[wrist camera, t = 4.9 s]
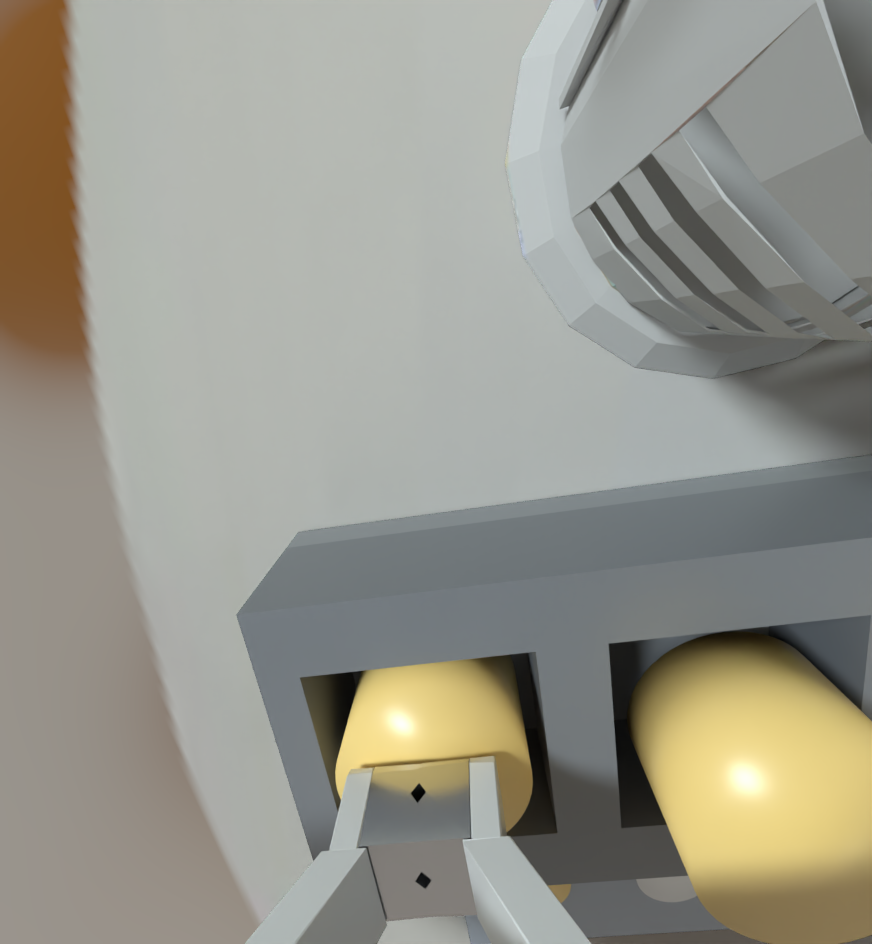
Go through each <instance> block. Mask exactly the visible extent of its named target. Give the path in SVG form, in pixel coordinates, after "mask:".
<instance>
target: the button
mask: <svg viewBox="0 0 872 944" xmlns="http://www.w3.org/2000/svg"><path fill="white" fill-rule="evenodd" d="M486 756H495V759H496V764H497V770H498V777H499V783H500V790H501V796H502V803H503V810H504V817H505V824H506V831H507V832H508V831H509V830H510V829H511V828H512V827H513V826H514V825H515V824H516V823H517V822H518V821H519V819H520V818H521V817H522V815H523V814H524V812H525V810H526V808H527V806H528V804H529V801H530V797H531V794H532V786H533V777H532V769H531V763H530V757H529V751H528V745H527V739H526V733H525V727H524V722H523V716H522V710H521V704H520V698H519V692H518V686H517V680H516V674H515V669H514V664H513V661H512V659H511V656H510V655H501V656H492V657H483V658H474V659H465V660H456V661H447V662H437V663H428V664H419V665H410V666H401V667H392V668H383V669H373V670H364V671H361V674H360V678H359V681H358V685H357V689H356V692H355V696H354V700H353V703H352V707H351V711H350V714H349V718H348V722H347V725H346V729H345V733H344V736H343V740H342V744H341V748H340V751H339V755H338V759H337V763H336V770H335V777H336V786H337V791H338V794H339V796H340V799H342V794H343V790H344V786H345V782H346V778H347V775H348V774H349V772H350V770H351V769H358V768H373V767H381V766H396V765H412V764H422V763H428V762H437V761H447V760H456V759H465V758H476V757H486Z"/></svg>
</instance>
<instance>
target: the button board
mask: <svg viewBox="0 0 872 944" xmlns="http://www.w3.org/2000/svg"><path fill="white" fill-rule="evenodd" d="M237 619H238V622H239V625H240V628H241V631H242V634H243V638H244V641H245V644H246V647H247V650H248V654H249V657H250V660H251V663H252V666H253V670H254V673H255V676H256V679H257V682H258V686H259V689H260V692H261V695H262V698H263V702H264V705H265V708H266V711H267V714H268V717H269V721H270V724H271V727H272V730H273V733H274V737H275V740H276V743H277V746H278V749H279V753H280V756H281V759H282V762H283V765H284V769H285V772H286V775H287V778H288V781H289V784H290V788H291V791H292V794H293V797H294V800H295V804H296V807H297V810H298V813H299V816H300V820H301V823H302V826H303V829H304V832H305V836H306V839H307V842H308V845H309V848H310V852H311V855H312V858H313V861H314V860H315V859H316V857H317V856H318V855H319V854H320V853H321V851H329V848H330V844H331V840H332V836H333V832H334V828H335V824H336V819H337V815H338V811H339V807H340V803H341V799H340V796H339V794H338V791H337V786H336V777H335V770H336V763H337V759H338V755H339V751H340V748H341V744H342V740H343V736H344V733H345V729H346V725H347V722H348V718H349V714H350V711H351V707H352V703H353V700H354V696H355V692H356V689H357V685H358V681H359V678H360V674H361V671H364V670H373V669H383V668H392V667H401V666H410V665H419V664H428V663H437V662H447V661H456V660H465V659H474V658H483V657H492V656H501V655H510V656H511V659H512V661H513V664H514V669H515V674H516V680H517V686H518V692H519V698H520V704H521V710H522V716H523V722H524V727H525V733H526V739H527V745H528V751H529V757H530V763H531V769H532V777H533V786H532V794H531V797H530V801H529V804H528V806H527V808H526V810H525V812H524V814H523V815H522V817H521V818H520V819H519V821H518V822H517V823H516V824H515V825H514V826H513V827H512V828H511V829H510V830H509V831H508V832H507V836H511V838H512V839H513V840H514V842H515V843H516V844H517V846H518V847H519V848H520V850H521V851H522V852H523V854H524V855H525V856H526V858H527V859H528V860H529V862H530V863H531V864H532V866H533V867H534V868H535V870H536V871H537V872H538V874H539V875H540V876H541V878H542V879H543V880H544V882H545V883H546V884H547V886H548V887H549V888H550V890H551V891H552V892H553V894H554V895H555V896H556V897H557V899H558V900H559V901H560V903H561V904H562V905H563V907H564V908H565V909H566V911H567V912H568V913H569V915H570V916H571V917H572V919H573V920H574V921H575V923H576V924H577V925H578V927H579V928H580V929H581V931H582V932H583V933H584V935H585V936H586V937H587V938H592V937H608V936H625V935H641V934H657V933H674V932H690V931H706V930H722V929H729V928H728V927H726V926H725V925H723V924H722V923H720V922H719V921H718V920H716V919H715V918H714V917H713V916H712V915H711V914H710V913H709V912H708V911H707V910H706V908H705V907H704V906H703V905H702V903H701V902H700V900H699V898H698V896H697V894H696V893H695V890H694V888H693V886H692V883H691V881H690V879H689V876H688V874H687V871H686V869H685V867H684V864H683V862H682V860H681V857H680V855H679V852H678V850H677V848H676V845H675V843H674V840H673V838H672V836H671V833H670V831H669V829H668V826H667V824H666V821H665V819H664V817H663V814H662V812H661V810H660V807H659V805H658V802H657V800H656V798H655V795H654V793H653V790H652V788H651V786H650V783H649V781H648V779H647V776H646V774H645V771H644V769H643V767H642V764H641V762H640V760H639V757H638V755H637V752H636V750H635V748H634V745H633V743H632V740H631V737H630V734H629V731H628V724H627V711H628V705H629V701H630V698H631V695H632V692H633V690H634V688H635V686H636V684H637V682H638V681H639V680H640V678H641V677H642V675H643V674H644V673H645V671H646V670H647V669H648V668H649V667H650V666H651V665H652V664H653V663H654V662H655V661H656V660H658V659H659V658H660V657H661V656H662V655H664V654H665V653H667V652H668V651H670V650H671V649H673V648H675V647H677V646H679V645H681V644H683V643H685V642H687V641H690V640H692V639H695V638H698V637H701V636H705V635H709V634H714V633H720V632H731V631H742V632H753V633H759V634H764V635H767V636H771V637H774V638H776V639H779V640H781V641H783V642H785V643H787V644H789V645H790V646H792V647H793V648H795V649H796V650H797V651H799V652H800V653H801V654H802V655H803V656H804V657H805V658H806V659H808V660H809V661H810V662H811V663H812V664H813V665H814V666H815V667H816V668H817V669H818V670H819V671H820V672H821V673H822V674H823V675H824V676H825V677H826V678H827V679H828V680H829V681H830V682H832V683H833V684H834V685H835V686H836V687H837V688H838V689H839V690H840V691H841V692H842V693H843V694H844V695H845V696H846V697H847V698H848V699H849V700H850V701H851V702H852V703H853V704H854V705H856V706H857V707H858V708H859V709H860V710H861V711H862V712H863V713H864V714H865V715H866V716H867V717H868V718H869V719H870V720H871V721H872V455H866V456H859V457H852V458H844V459H837V460H829V461H822V462H814V463H807V464H800V465H792V466H785V467H777V468H770V469H762V470H755V471H748V472H740V473H733V474H725V475H718V476H710V477H703V478H696V479H688V480H681V481H673V482H666V483H658V484H651V485H644V486H636V487H629V488H621V489H614V490H607V491H599V492H592V493H584V494H577V495H569V496H562V497H555V498H547V499H540V500H532V501H525V502H517V503H510V504H503V505H495V506H488V507H480V508H473V509H465V510H458V511H451V512H443V513H436V514H428V515H421V516H413V517H406V518H399V519H391V520H384V521H376V522H369V523H361V524H354V525H347V526H339V527H332V528H324V529H317V530H309V531H302V532H298V533H297V535H296V536H295V537H294V539H293V540H292V541H291V543H290V544H289V545H288V547H287V548H286V549H285V551H284V552H283V553H282V555H281V556H280V557H279V559H278V560H277V561H276V563H275V564H274V565H273V567H272V568H271V569H270V571H269V572H268V573H267V575H266V576H265V577H264V579H263V580H262V581H261V583H260V584H259V585H258V587H257V588H256V589H255V591H254V592H253V593H252V595H251V596H250V597H249V599H248V600H247V601H246V603H245V604H244V605H243V607H242V608H241V609H240V611H239V612H238V613H237ZM465 918H466V923H467V928H468V933H469V938H470V942H471V944H491V942H490V940H489V938H488V936H487V934H486V933H485V931H484V929H483V927H482V925H481V923H480V921H479V919H478V917H477V915H465Z"/></svg>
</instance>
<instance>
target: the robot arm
mask: <svg viewBox="0 0 872 944" xmlns="http://www.w3.org/2000/svg"><path fill="white" fill-rule="evenodd" d="M465 915H477V917H478V919H479V921H480V923H481V925H482V927H483V929H484V931H485V933H486V934H487V936H488V938H489V940H490V942H491V944H591V943H590V941H589V940H588V939H587V937H586V936H585V935H584V933H583V932H582V931H581V929H580V928H579V927H578V925H577V924H576V923H575V921H574V920H573V919H572V917H571V916H570V915H569V913H568V912H567V911H566V909H565V908H564V907H563V905H562V904H561V903H560V901H559V900H558V899H557V897H556V896H555V895H554V894H553V892H552V891H551V890H550V888H549V887H548V886H547V884H546V883H545V882H544V880H543V879H542V878H541V876H540V875H539V874H538V872H537V871H536V870H535V868H534V867H533V866H532V864H531V863H530V862H529V860H528V859H527V858H526V856H525V855H524V854H523V852H522V851H521V850H520V848H519V847H518V846H517V844H516V843H515V842H514V840H513V839H512V838H511V836H507V831H506V824H505V817H504V810H503V803H502V796H501V790H500V783H499V777H498V770H497V764H496V759H495V756H486V757H476V758H465V759H456V760H447V761H437V762H428V763H422V764H412V765H396V766H381V767H373V768H358V769H351V770H350V772H349V774H348V775H347V778H346V782H345V786H344V790H343V794H342V799H341V803H340V807H339V811H338V815H337V819H336V824H335V828H334V832H333V836H332V840H331V844H330V848H329V851H321V853H320V854H319V855H318V856H317V857H316V859H315V860H314V861H313V862H312V863H311V865H310V866H309V867H308V868H307V869H306V871H305V872H304V873H303V874H302V875H301V877H300V878H299V879H298V880H297V881H296V883H295V884H294V885H293V886H292V887H291V889H290V890H289V891H288V892H287V893H286V895H285V896H284V897H283V898H282V899H281V901H280V902H279V903H278V904H277V906H276V907H275V908H274V909H273V910H272V912H271V913H270V914H269V915H268V916H267V918H266V919H265V920H264V921H263V922H262V924H261V925H260V926H259V927H258V928H257V930H256V931H255V932H254V933H253V934H252V936H251V937H250V938H249V939H248V940H247V942H246V943H245V944H377V942H378V941H379V939H380V937H381V935H382V933H383V931H384V929H385V928H386V926H387V923H386V921H395V920H404V919H414V918H424V917H437V916H465Z"/></svg>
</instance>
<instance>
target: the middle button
mask: <svg viewBox="0 0 872 944" xmlns="http://www.w3.org/2000/svg"><path fill="white" fill-rule="evenodd" d="M627 724H628V731H629V734H630V737H631V740H632V743H633V745H634V748H635V750H636V752H637V755H638V757H639V760H640V762H641V764H642V767H643V769H644V771H645V774H646V776H647V779H648V781H649V783H650V786H651V788H652V790H653V793H654V795H655V798H656V800H657V802H658V805H659V807H660V810H661V812H662V814H663V817H664V819H665V821H666V824H667V826H668V829H669V831H670V833H671V836H672V838H673V840H674V843H675V845H676V848H677V850H678V852H679V855H680V857H681V860H682V862H683V864H684V867H685V869H686V871H687V874H688V876H689V879H690V881H691V883H692V886H693V888H694V890H695V893H696V894H697V896H698V898H699V900H700V902H701V903H702V905H703V906H704V907H705V908H706V910H707V911H708V912H709V913H710V914H711V915H712V916H713V917H714V918H715V919H716V920H718V921H719V922H720V923H722V924H723V925H725V926H726V927H728V928H729V929H731V930H733V931H735V932H737V933H739V934H741V935H744V936H746V937H749V938H752V939H754V940H758V941H762V942H766V943H770V944H839V943H845V942H850V941H854V940H857V939H861V938H865V937H868V936H870V935H872V721H871V720H870V719H869V718H868V717H867V716H866V715H865V714H864V713H863V712H862V711H861V710H860V709H859V708H858V707H857V706H856V705H854V704H853V703H852V702H851V701H850V700H849V699H848V698H847V697H846V696H845V695H844V694H843V693H842V692H841V691H840V690H839V689H838V688H837V687H836V686H835V685H834V684H833V683H832V682H830V681H829V680H828V679H827V678H826V677H825V676H824V675H823V674H822V673H821V672H820V671H819V670H818V669H817V668H816V667H815V666H814V665H813V664H812V663H811V662H810V661H809V660H808V659H806V658H805V657H804V656H803V655H802V654H801V653H800V652H799V651H797V650H796V649H795V648H793V647H792V646H790V645H789V644H787V643H785V642H783V641H781V640H779V639H776V638H774V637H771V636H767V635H764V634H759V633H753V632H742V631H731V632H720V633H714V634H709V635H705V636H701V637H698V638H695V639H692V640H690V641H687V642H685V643H683V644H681V645H679V646H677V647H675V648H673V649H671V650H670V651H668V652H667V653H665V654H664V655H662V656H661V657H660V658H659V659H658V660H656V661H655V662H654V663H653V664H652V665H651V666H650V667H649V668H648V669H647V670H646V671H645V673H644V674H643V675H642V677H641V678H640V680H639V681H638V682H637V684H636V686H635V688H634V690H633V692H632V695H631V698H630V701H629V705H628V711H627Z"/></svg>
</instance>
